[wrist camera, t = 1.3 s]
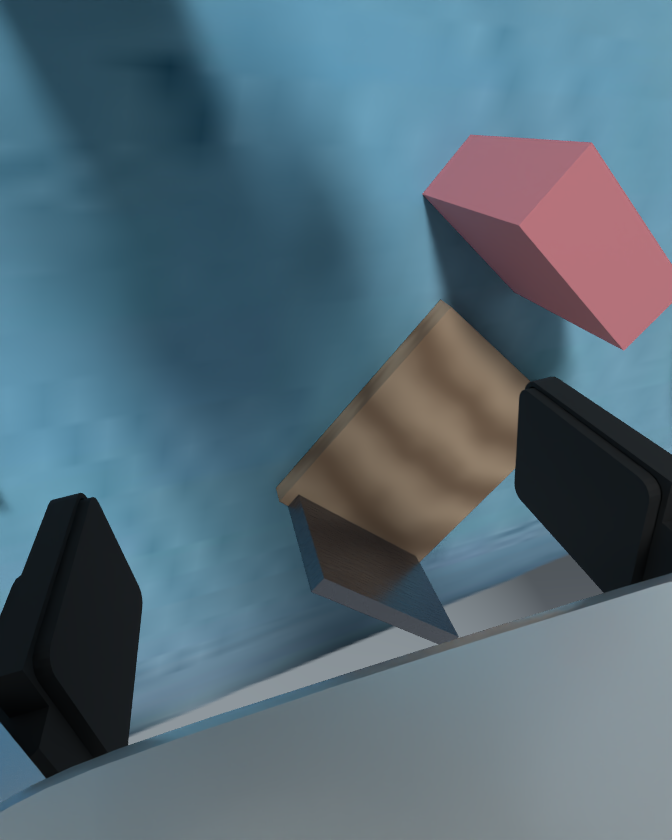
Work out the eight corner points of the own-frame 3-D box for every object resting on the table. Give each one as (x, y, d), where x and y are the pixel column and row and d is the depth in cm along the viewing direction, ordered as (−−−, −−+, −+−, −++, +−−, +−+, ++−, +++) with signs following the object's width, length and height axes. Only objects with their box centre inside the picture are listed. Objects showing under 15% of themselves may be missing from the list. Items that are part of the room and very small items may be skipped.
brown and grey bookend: (440, 299, 42) (520, 356, 32) (555, 406, 51) (646, 477, 41) (276, 487, 47) (300, 587, 37) (405, 555, 56) (454, 650, 46)
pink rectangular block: (470, 134, 36) (591, 142, 26) (558, 243, 42) (687, 288, 32) (422, 194, 38) (518, 225, 27) (514, 292, 44) (623, 350, 33)
